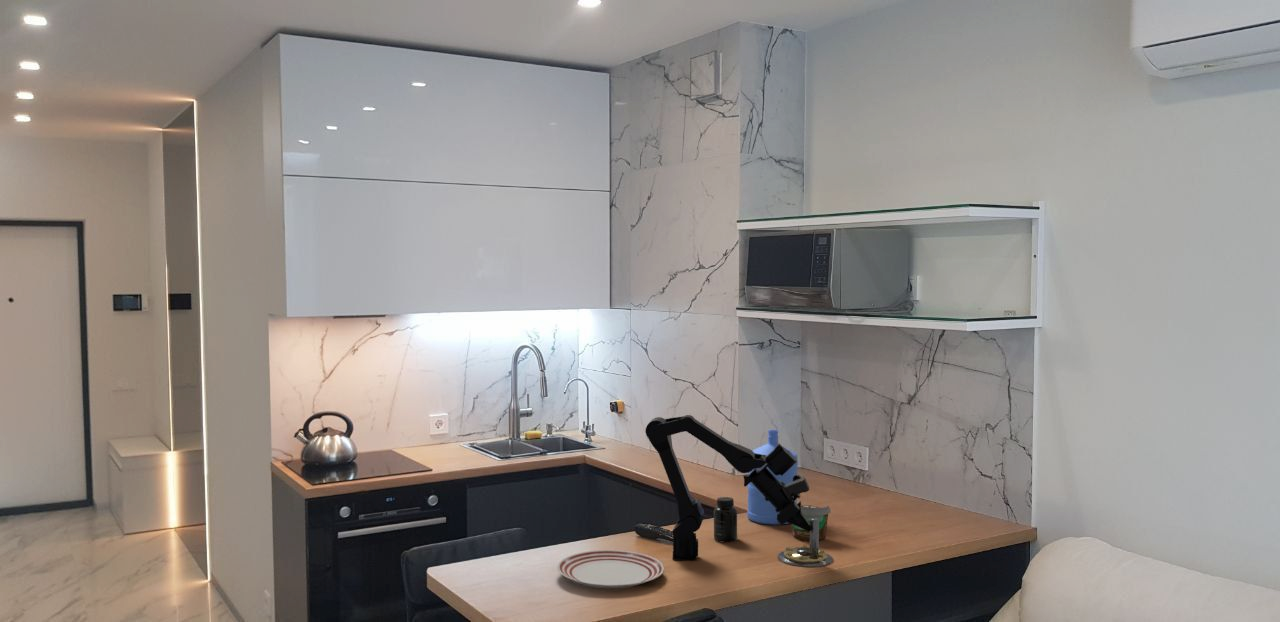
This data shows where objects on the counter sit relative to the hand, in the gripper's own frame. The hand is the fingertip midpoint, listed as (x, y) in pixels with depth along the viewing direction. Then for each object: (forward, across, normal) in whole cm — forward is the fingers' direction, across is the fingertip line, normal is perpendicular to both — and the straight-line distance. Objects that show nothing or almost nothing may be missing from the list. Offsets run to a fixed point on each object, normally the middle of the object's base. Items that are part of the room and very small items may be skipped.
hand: (810, 530), depth 263 cm
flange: (+6, +5, +8) cm, 11 cm away
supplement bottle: (-11, +19, +24) cm, 33 cm away
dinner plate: (-28, -21, +43) cm, 55 cm away
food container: (+6, +24, +7) cm, 25 cm away
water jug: (-2, +45, +15) cm, 47 cm away
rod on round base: (+6, +5, +8) cm, 11 cm away
